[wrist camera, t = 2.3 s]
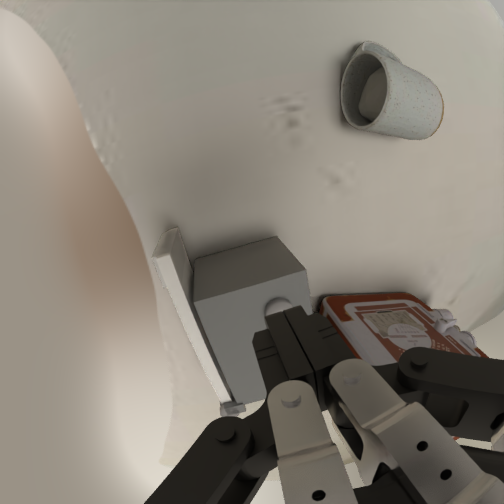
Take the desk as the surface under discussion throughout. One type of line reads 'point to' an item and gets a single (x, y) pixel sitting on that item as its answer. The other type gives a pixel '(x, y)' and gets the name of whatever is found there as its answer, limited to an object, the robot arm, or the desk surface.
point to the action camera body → (246, 308)
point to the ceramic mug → (389, 95)
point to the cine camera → (394, 327)
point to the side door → (188, 306)
